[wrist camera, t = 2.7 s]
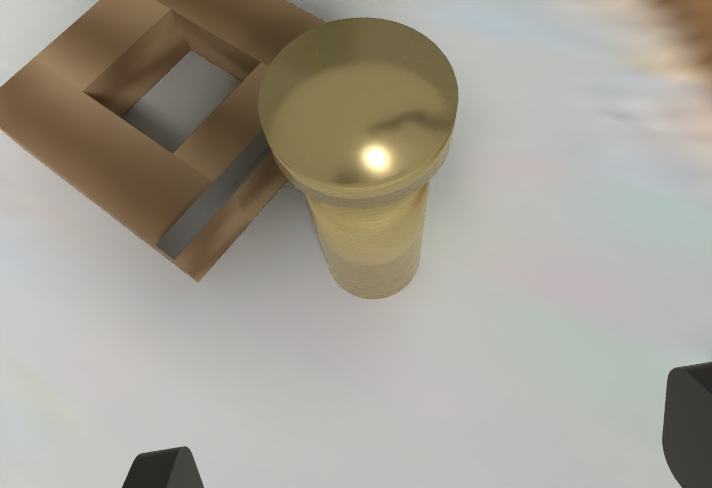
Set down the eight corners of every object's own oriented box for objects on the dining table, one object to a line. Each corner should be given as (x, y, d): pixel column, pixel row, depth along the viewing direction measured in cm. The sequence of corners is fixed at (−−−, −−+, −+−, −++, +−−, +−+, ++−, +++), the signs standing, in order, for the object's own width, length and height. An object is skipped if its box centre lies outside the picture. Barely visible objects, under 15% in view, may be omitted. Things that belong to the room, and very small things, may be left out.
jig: (188, -18, 33) (165, -71, 30) (370, 84, 29) (367, 35, 26) (15, 141, 29) (-33, 100, 26) (198, 282, 26) (168, 255, 22)
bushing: (361, 184, 27) (338, -10, 16) (452, 241, 25) (497, 71, 14) (294, 267, 26) (217, 116, 14) (386, 332, 24) (379, 220, 13)
